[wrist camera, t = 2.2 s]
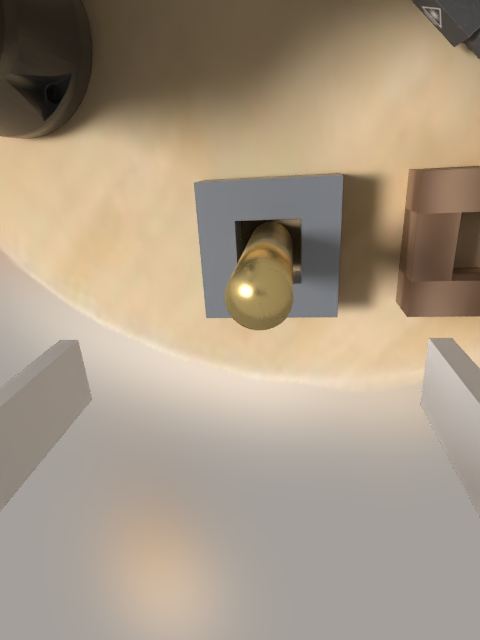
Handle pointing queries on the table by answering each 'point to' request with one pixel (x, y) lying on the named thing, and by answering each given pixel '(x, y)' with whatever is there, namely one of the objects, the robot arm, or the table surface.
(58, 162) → the table surface
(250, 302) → the brass pin
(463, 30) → the laser sight
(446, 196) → the dock block
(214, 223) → the mount block
